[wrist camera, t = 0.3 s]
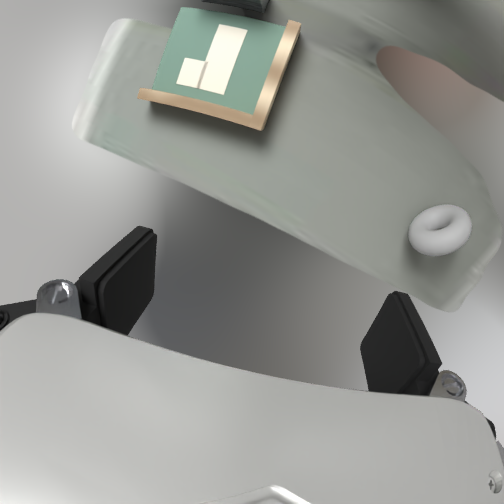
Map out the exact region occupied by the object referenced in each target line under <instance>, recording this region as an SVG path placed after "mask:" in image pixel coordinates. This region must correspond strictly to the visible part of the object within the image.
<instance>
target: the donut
mask: <svg viewBox="0 0 504 504" xmlns="http://www.w3.org/2000/svg"><path fill="white" fill-rule="evenodd" d="M443 227H445V228H443ZM439 228H443V229H439ZM437 229H439V230H437ZM471 231H472V222H471V218H470V216H469V214H468V213H467V212H466V211H465V210H464V209H463V208H461V207H458V206H456V205H451V204H445V205H438V206H434V207H431V208H429V209H426V210H424V211H423V212H421V213H420V214H418V215H417V216H416V217H415V218H414V219H413V221H412V223H411V225H410V226H409V232H408V238H409V241H410V243H411V245H412V247H413V248H414V249H416V250H417V251H418V252H419V253H422V254H425V255H428V256H442V255H447V254H449V253H452V252H454V251H456V250H458V249H459V248H460V247H462V246H463V245H464V244H465V243H466V242H467V240H468V239H469V237H470V234H471Z"/></svg>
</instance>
